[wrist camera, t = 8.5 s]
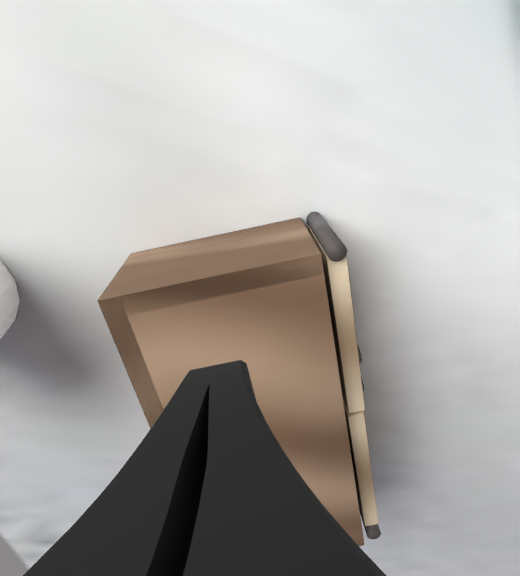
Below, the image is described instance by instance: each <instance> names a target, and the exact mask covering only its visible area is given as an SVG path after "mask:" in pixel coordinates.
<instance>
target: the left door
mask: <svg viewBox="0 0 520 576" xmlns="http://www.w3.org/2000/svg"><path fill="white" fill-rule="evenodd" d="M361 382H362V378H361ZM362 390H363V391H364V386H363V382H362ZM342 397H343V396H342ZM343 404H344V411H345V417H346V424H347V431H348V438H349V444H350V451H351V458H352V465H353V471H354V478H355V485H356V491H357V498H358V505H359V511H360V514H361V517H362V521H363V524H364V527H365V530H366V534H367V537H368V538H370V539H376V538H378V537H379V536H380V535H381V532H380V530H379V527H378V524H379V523H378V515H377V508H376V500H375V493H374V485H373V478H372V470H371V463H370V455H369V448H368V441H367V433H366V426H365V418H364V413H363V411H358V412H353V413H349V412H348V409H347V406H346V404H345V401H344V398H343Z"/></svg>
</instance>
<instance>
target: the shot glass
mask: <svg viewBox="0 0 520 576" xmlns="http://www.w3.org/2000/svg"><path fill="white" fill-rule="evenodd" d="M19 304H20V300H19V295H18V291H17V286H16V282H15V280H14V278H13V277H12V275H11V274H10V272H9V271H8V269H7V268H6V266H5V265H4V264H3V262H2V261H1V260H0V339H1V338H2V337H3V335H4V334H5V333H6V331H7V330H8V329H9V328H10V326H11V325H12V324H13V322H14V321H15V319H16V315H17V311H18V308H19Z"/></svg>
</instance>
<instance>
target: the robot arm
mask: <svg viewBox="0 0 520 576" xmlns="http://www.w3.org/2000/svg"><path fill="white" fill-rule="evenodd" d="M23 576H386V575H385V574H384V573H383V572H382V571H381V570H380V569H379V568H378V566H377V565H376V564H375V563H374V562H373V561H372V560H371V559H370V558H369V557H368V556H367V555H366V554H365V553H364V552H363V551H362V550H361V549H360V547H359V546H358V545H357V544H356V543H355V542H354V541H353V539H352V538H351V537H350V536H349V535H348V534H347V532H346V531H345V530H344V529H343V528H342V527H341V525H340V524H339V523H338V522H337V521H336V520H335V519H334V517H333V516H332V515H331V514H330V513H329V512H328V510H327V509H326V508H325V507H324V506H323V505H322V503H321V502H320V501H319V499H318V498H317V497H316V496H315V494H314V493H313V492H312V490H311V489H310V488H309V486H308V485H307V484H306V483H305V481H304V480H303V478H302V477H301V476H300V474H299V473H298V471H297V470H296V469H295V467H294V466H293V464H292V463H291V461H290V460H289V458H288V457H287V455H286V454H285V452H284V451H283V449H282V448H281V446H280V444H279V443H278V441H277V439H276V438H275V436H274V434H273V433H272V431H271V429H270V427H269V426H268V424H267V422H266V420H265V418H264V416H263V414H262V412H261V410H260V408H259V406H258V404H257V401H256V398H255V394H254V390H253V386H252V382H251V379H250V375H249V371H248V367H247V363H245V362H244V361H242V360H238V361H233V362H228V363H223V364H218V365H213V366H208V367H203V368H198V369H193V370H190V371H189V372H188V373H187V375H186V376H185V378H184V379H183V381H182V382H181V384H180V385H179V387H178V388H177V390H176V392H175V393H174V395H173V396H172V398H171V399H170V401H169V402H168V404H167V406H166V407H165V409H164V410H163V412H162V413H161V415H160V416H159V418H158V419H157V421H156V422H155V423H154V425H153V426H152V428H151V429H150V431H149V432H148V434H147V435H146V437H145V438H144V439H143V441H142V442H141V444H140V445H139V446H138V448H137V449H136V450H135V452H134V453H133V454H132V456H131V457H130V458H129V460H128V461H127V462H126V464H125V465H124V466H123V468H122V469H121V470H120V472H119V473H118V474H117V475H116V477H115V478H114V479H113V480H112V481H111V483H110V484H109V485H108V486H107V487H106V489H105V490H104V491H103V492H102V493H101V495H100V496H99V497H98V498H97V499H96V500H95V501H94V502H93V504H92V505H91V506H90V507H89V508H88V509H87V510H86V511H85V513H84V514H83V515H82V516H81V517H80V518H79V519H78V520H77V521H76V523H75V524H74V525H73V526H72V527H71V528H70V529H69V530H68V531H67V532H66V533H65V534H64V535H63V536H62V537H61V538H60V539H59V540H58V541H57V542H56V543H55V544H54V545H53V546H52V547H51V548H50V549H49V550H48V551H47V552H46V553H45V554H44V555H43V556H42V557H41V558H40V559H39V560H38V561H37V562H36V563H35V564H34V565H33V566H32V567H31V568H30V569H29V570H28V571H27V572H26V573H25V574H24V575H23Z"/></svg>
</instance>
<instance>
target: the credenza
mask: <svg viewBox="0 0 520 576" xmlns="http://www.w3.org/2000/svg"><path fill="white" fill-rule="evenodd" d="M306 221H307V224H308V225H309V226H308V228H309V232H308V230H307V228H306V227H305V225H304V223H303V221H302V220H301V218H295V219H290V220H286V221H281V222H276V223H272V224H267V225H262V226H258V227H253V228H248V229H244V230H239V231H234V232H230V233H225V234H220V235H216V236H211V237H206V238H202V239H197V240H192V241H188V242H183V243H178V244H173V245H169V246H164V247H159V248H155V249H150V250H145V251H141V252H136V253H131V254H130V256H129V257H128V259H127V260H126V261H125V263H124V264H123V266H122V267H121V268H120V270H119V271H118V273H117V274H116V275H115V277H114V278H113V280H112V281H111V282H110V284H109V285H108V287H107V288H106V289H105V291H104V292H103V294H102V295H101V296H100V298H99V299H98V303H99V306H100V308H101V310H102V313H103V315H104V318H105V320H106V322H107V325H108V327H109V330H110V332H111V334H112V337H113V339H114V342H115V344H116V346H117V349H118V351H119V354H120V356H121V358H122V361H123V363H124V366H125V368H126V370H127V373H128V375H129V378H130V380H131V382H132V385H133V387H134V390H135V392H136V395H137V397H138V399H139V402H140V404H141V407H142V409H143V411H144V414H145V416H146V419H147V421H148V423H149V426H150V428H152V426H153V425H154V423H155V422H156V421H157V419H158V418H159V416H160V415H161V413H162V412H163V410H164V409H165V407H166V406H167V404H168V402H169V401H170V399H171V398H172V396H173V395H174V393H175V392H176V390H177V388H178V387H179V385H180V384H181V382H182V381H183V379H184V378H185V376H186V375H187V373H188V372H189V371H190V370H193V369H198V368H203V367H208V366H213V365H218V364H223V363H228V362H233V361H238V360H242V361H244V362H245V363H247V367H248V371H249V375H250V379H251V382H252V386H253V390H254V394H255V398H256V401H257V404H258V406H259V408H260V410H261V412H262V414H263V416H264V418H265V420H266V422H267V424H268V426H269V427H270V429H271V431H272V433H273V434H274V436H275V438H276V439H277V441H278V443H279V444H280V446H281V448H282V449H283V451H284V452H285V454H286V455H287V457H288V458H289V460H290V461H291V463H292V464H293V466H294V467H295V469H296V470H297V471H298V473H299V474H300V476H301V477H302V478H303V480H304V481H305V483H306V484H307V485H308V486H309V488H310V489H311V490H312V492H313V493H314V494H315V496H316V497H317V498H318V499H319V501H320V502H321V503H322V505H323V506H324V507H325V508H326V509H327V510H328V512H329V513H330V514H331V515H332V516H333V517H334V519H335V520H336V521H337V522H338V523H339V524H340V525H341V527H342V528H343V529H344V530H345V531H346V532H347V534H348V535H349V536H350V537H351V538H352V539H353V541H354V542H355V543H356V544H357V545H358V546H362V545H364V539H363V532H362V525H361V518H360V512H359V505H358V498H357V491H356V485H355V478H354V471H353V465H352V458H351V451H350V444H349V438H348V431H347V424H346V417H345V411H344V404H343V398H344V401H345V404H346V406H347V409H348V412H349V413H353V412H358V411H363V410H365V406H364V398H363V390H362V382H361V373H360V365H359V363H361V362H362V359H361V353H360V350H359V347H358V345H357V340H356V332H355V324H354V316H353V307H352V299H351V291H350V283H349V274H348V266H347V258H346V254H347V249H346V247H345V246H344V244H343V243H342V242H341V240H340V239H339V238H338V237H337V235H336V234H335V233H334V232H333V230H332V229H331V228H330V226H329V225H328V224H327V223H326V221H325V220H324V219H323V217H322V216H321V215H320V214H319V213H318V212H311V213H310V214H309V215H308V216H307V219H306ZM342 396H343V397H342Z"/></svg>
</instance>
